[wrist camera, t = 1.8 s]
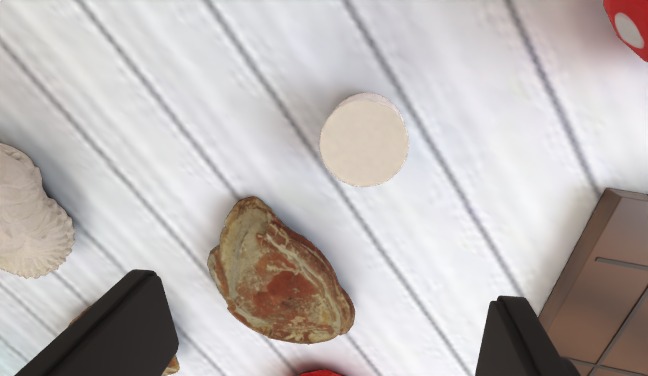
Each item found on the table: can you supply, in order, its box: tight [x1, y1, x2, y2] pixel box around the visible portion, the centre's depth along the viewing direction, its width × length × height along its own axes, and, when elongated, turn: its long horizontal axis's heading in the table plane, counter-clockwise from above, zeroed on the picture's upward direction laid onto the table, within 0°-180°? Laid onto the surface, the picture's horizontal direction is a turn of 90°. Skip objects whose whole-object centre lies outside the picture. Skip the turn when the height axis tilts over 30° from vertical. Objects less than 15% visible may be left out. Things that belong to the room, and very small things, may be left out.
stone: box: [207, 197, 355, 344], centre depth 27 cm, size 13×10×3 cm
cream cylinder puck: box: [319, 93, 409, 187], centre depth 21 cm, size 5×5×4 cm
